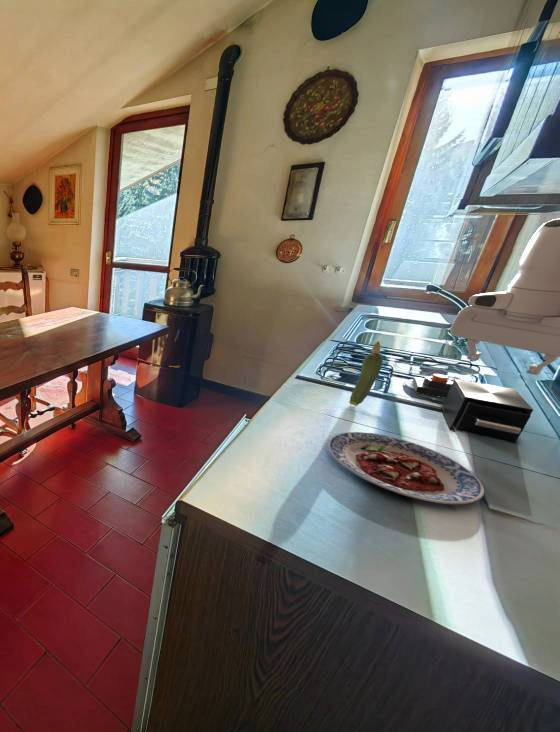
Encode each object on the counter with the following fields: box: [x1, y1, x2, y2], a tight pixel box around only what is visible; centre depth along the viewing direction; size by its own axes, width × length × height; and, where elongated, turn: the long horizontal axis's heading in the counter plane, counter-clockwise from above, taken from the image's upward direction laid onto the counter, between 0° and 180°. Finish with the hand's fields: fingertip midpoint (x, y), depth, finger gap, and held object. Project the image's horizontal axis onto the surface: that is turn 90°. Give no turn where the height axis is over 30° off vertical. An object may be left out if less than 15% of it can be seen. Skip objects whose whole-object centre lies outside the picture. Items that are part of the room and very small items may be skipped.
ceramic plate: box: [328, 431, 485, 505], centre depth 84 cm, size 26×26×3 cm
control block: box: [411, 375, 454, 399], centre depth 123 cm, size 10×10×4 cm
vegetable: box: [348, 340, 384, 407], centre depth 110 cm, size 4×4×20 cm
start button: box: [431, 373, 450, 383], centre depth 122 cm, size 4×4×2 cm
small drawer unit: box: [455, 400, 532, 444], centre depth 98 cm, size 18×10×8 cm, turn 144°
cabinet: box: [440, 378, 534, 432], centre depth 102 cm, size 15×12×10 cm
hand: (501, 366), depth 84 cm, fingers open, 8 cm apart
